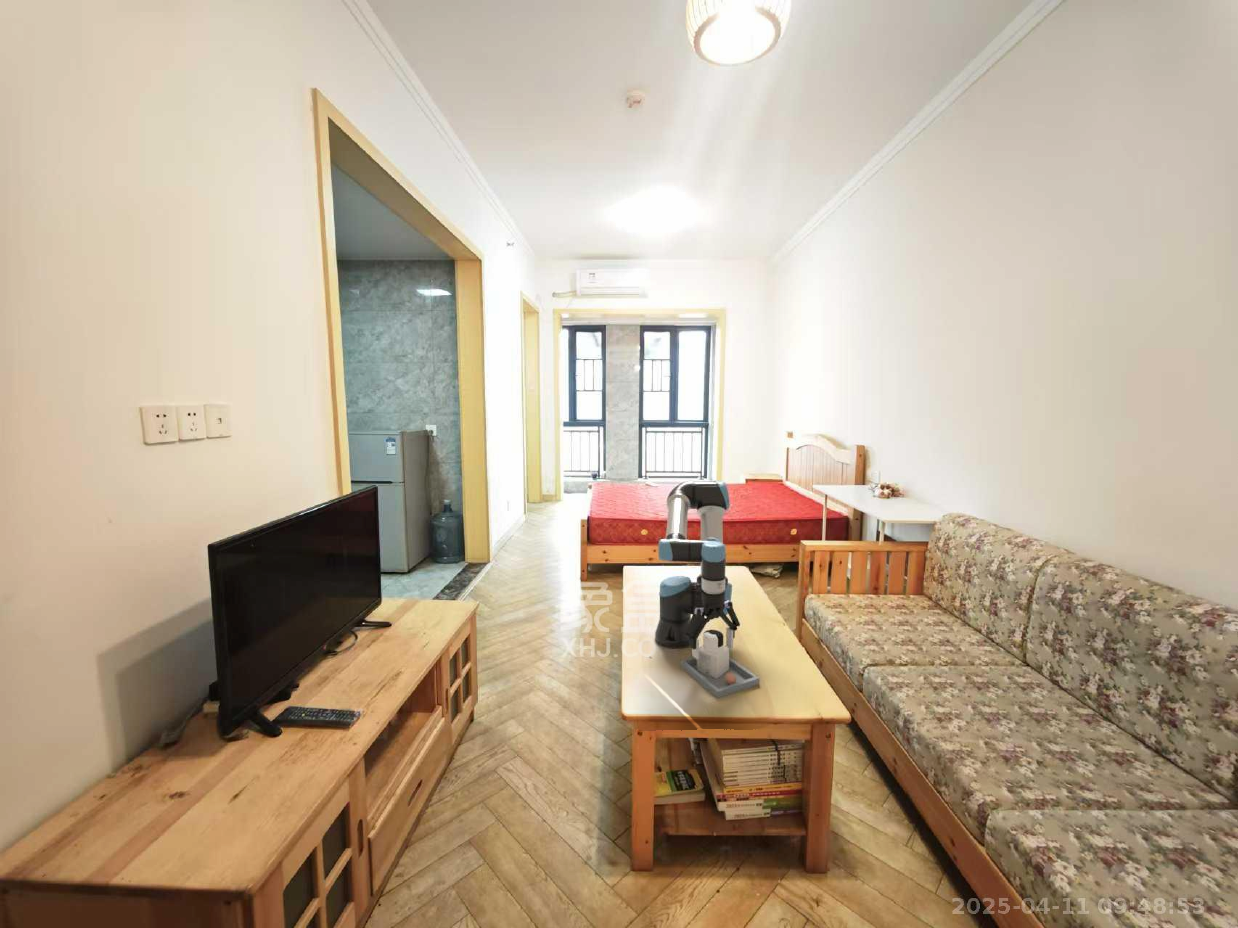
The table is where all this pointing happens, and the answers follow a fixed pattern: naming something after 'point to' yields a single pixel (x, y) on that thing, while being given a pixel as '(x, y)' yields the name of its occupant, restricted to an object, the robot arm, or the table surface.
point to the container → (713, 655)
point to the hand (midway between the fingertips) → (712, 652)
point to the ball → (730, 678)
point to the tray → (722, 678)
